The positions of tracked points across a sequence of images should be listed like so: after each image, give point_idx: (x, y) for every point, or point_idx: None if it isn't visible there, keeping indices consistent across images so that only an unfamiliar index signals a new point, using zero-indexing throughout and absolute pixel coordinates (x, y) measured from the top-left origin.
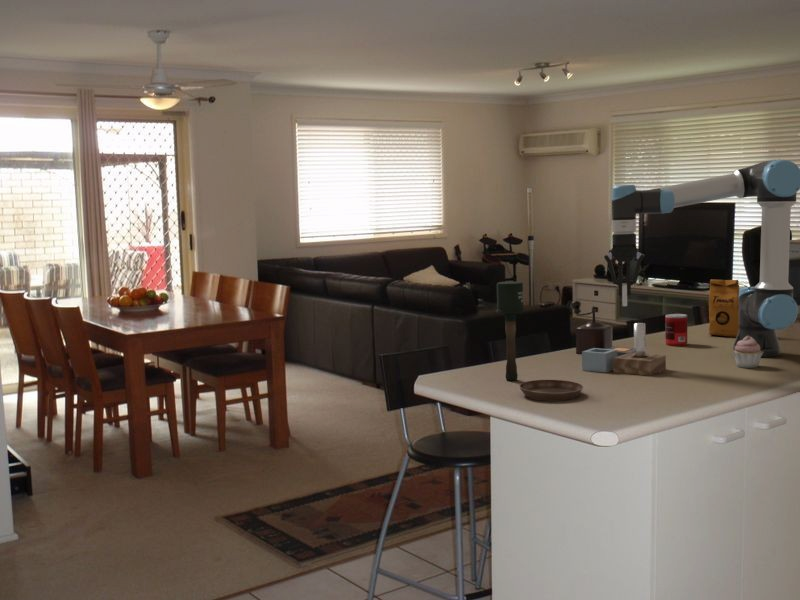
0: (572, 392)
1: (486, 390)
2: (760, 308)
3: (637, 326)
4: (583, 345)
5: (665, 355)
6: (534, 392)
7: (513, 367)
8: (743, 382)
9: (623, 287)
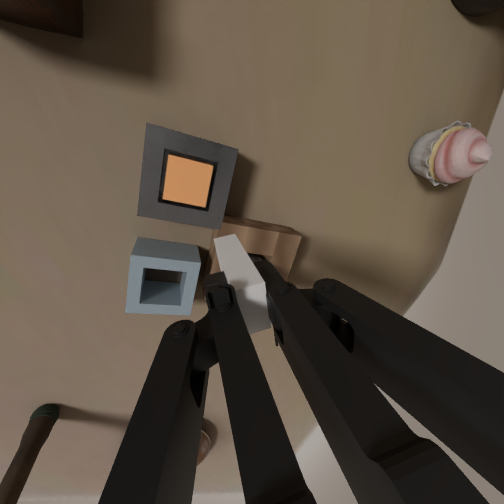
0: (204, 456)
1: (61, 468)
2: None
3: None
4: None
5: (301, 237)
6: None
7: (46, 439)
8: (388, 286)
9: (248, 327)
